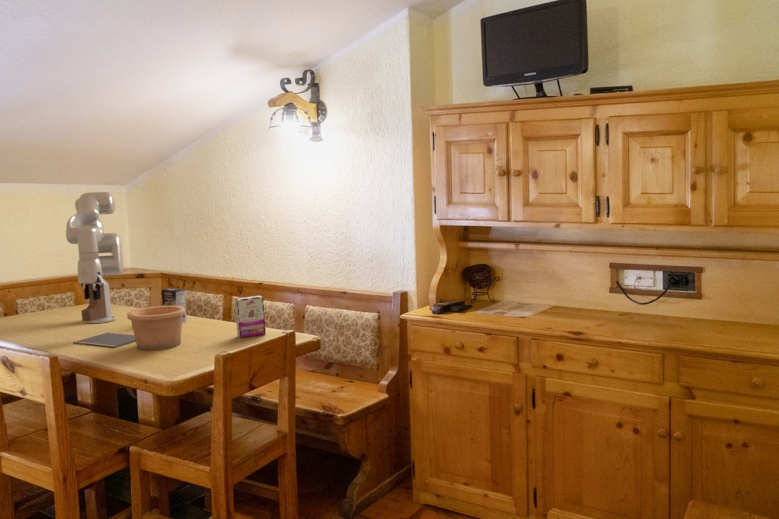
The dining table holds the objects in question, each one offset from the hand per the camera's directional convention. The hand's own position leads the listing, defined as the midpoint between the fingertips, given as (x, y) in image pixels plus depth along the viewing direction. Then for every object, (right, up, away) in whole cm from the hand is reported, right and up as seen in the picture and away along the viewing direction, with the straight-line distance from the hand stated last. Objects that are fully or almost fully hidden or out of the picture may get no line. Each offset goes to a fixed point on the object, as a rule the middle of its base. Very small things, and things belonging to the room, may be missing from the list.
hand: (92, 298), depth 272 cm
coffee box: (+25, -13, +30) cm, 41 cm away
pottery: (+33, -18, -13) cm, 40 cm away
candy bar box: (+68, -16, -1) cm, 70 cm away
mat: (+9, -18, -2) cm, 20 cm away
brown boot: (0, -9, +1) cm, 9 cm away
